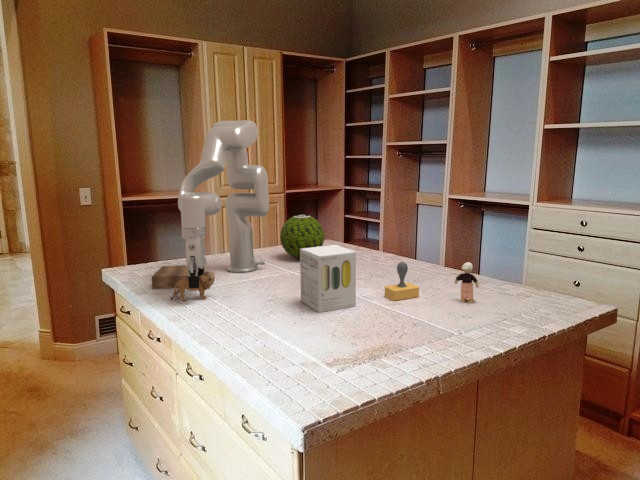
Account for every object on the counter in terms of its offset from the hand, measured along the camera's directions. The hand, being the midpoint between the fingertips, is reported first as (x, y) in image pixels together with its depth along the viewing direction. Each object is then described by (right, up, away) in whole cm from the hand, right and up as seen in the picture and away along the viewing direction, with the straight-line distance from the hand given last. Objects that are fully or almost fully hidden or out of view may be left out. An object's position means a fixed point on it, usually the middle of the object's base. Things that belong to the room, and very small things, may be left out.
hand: (196, 284), depth 153 cm
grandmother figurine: (+87, -5, -4) cm, 87 cm away
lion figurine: (-1, -5, +1) cm, 5 cm away
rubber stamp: (+67, -5, +1) cm, 68 cm away
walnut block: (-12, -2, +21) cm, 24 cm away
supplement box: (+43, -6, -5) cm, 44 cm away
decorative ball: (+33, +6, +59) cm, 68 cm away
